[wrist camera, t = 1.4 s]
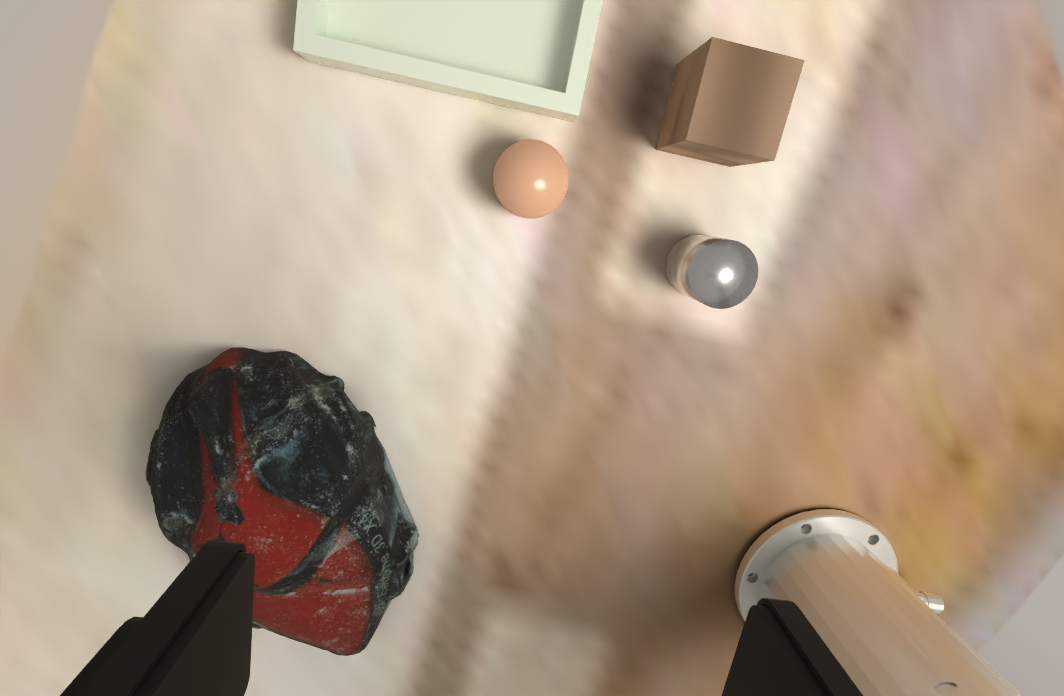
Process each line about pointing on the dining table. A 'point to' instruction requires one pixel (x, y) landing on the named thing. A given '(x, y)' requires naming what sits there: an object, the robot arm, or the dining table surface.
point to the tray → (460, 46)
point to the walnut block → (729, 104)
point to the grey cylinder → (712, 270)
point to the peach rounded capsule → (530, 178)
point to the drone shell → (286, 493)
